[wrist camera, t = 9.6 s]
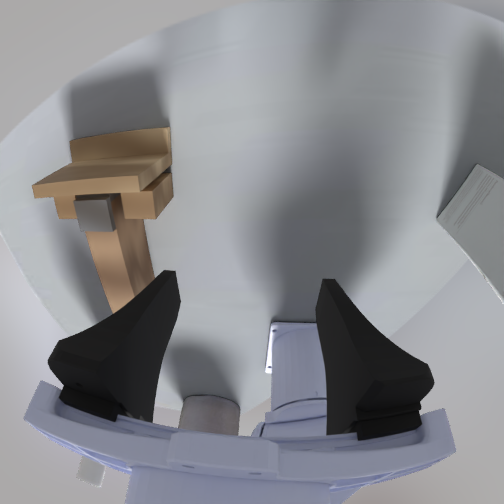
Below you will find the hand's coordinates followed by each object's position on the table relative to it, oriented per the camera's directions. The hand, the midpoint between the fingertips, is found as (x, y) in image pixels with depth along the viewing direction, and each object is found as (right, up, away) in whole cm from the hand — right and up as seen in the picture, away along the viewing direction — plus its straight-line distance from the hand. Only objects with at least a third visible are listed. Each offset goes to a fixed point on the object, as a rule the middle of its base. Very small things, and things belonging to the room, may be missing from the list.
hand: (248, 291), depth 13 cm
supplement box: (+22, +6, +6) cm, 23 cm away
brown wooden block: (-11, +2, +10) cm, 15 cm away
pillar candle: (-6, -24, +27) cm, 37 cm away
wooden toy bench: (-10, +9, +6) cm, 15 cm away
